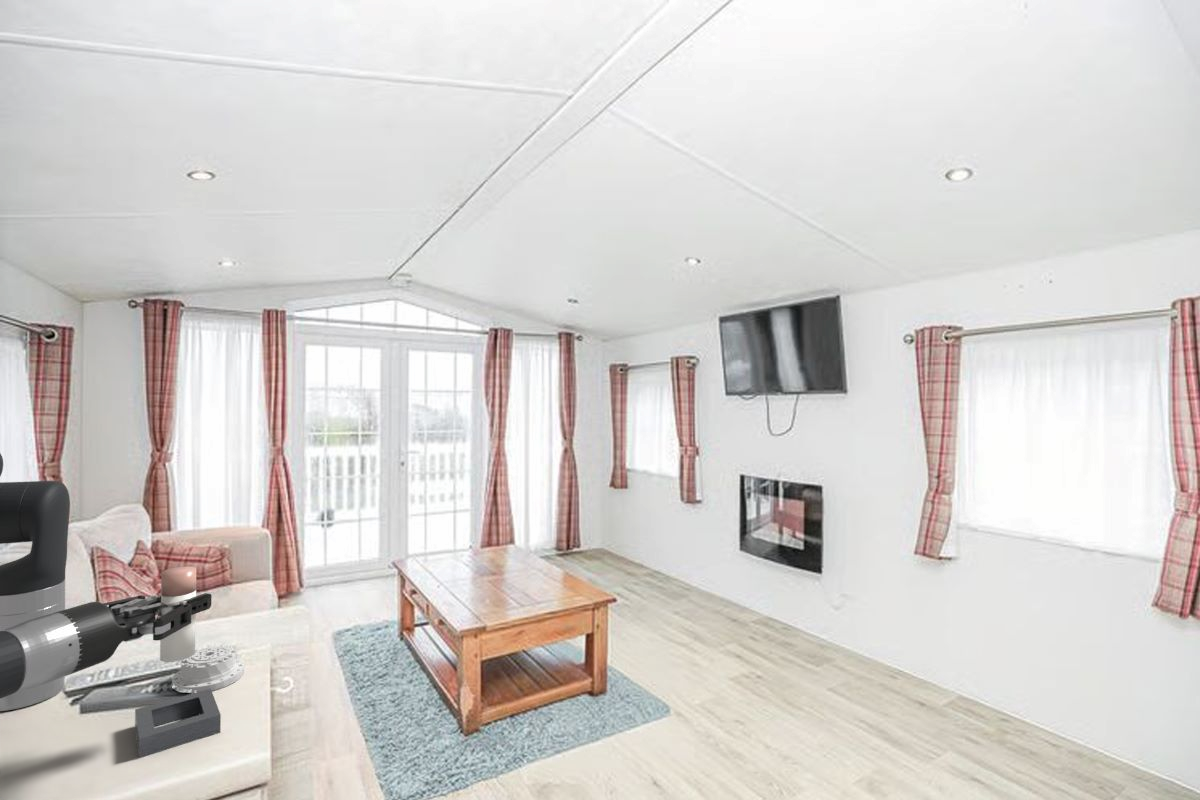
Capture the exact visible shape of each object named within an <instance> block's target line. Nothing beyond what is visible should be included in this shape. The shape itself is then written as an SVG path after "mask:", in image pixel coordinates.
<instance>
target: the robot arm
mask: <svg viewBox="0 0 1200 800" xmlns="http://www.w3.org/2000/svg"><path fill="white" fill-rule="evenodd" d="M3 471H4V458H3V456H2V454H1V453H0V477H1V476H2V474H3ZM70 511H71V500H70V493H69V489H68V488H67V486H66V485H65V484H64V483H63V482H61V481H58V480H57V481H56V480H36V481H35V480H34V481H31V480H30V481H10V482H9V481H7V482H4V481H3V482H0V545H2V544H3V545H4V544H18V543H20V544H21V543H31V548H30V552H29V553H28V554H26V555H24V556H23V557H20V558H19V559H15V560H13V561H12V560H11V561H10V562H6V563H3V564H0V712H5V711H11V710H13V711H14V710H17V709H22V708H26V707H30V706H32V705H36V704H39V703H41V702H43V701H45V700H48V699H50V698H52V697H54V696H55V695H57V694H59V693H60V692H61V691H62V690H63V689H64V688H65V684H66V682H65V681H66V680H65V678H66V677H67V676H69V675H72V674H75V673H78V672H81V671H83V670H85V669H89V668H90V667H93V666H96V665H99V664H102V663H104V662H106V661H108V660H109V659H111V657H112V656H113V655H114V654H115V652H116V650H117V649H118V648H119V646H120V644H122V642H126V643H127V642H132V641H136V640H140V639H141V638H142V637H144V636H147V635H152V640H153V641H160V640H162V639H164V638H166V637H167V636H169V635H171V634H173V633H175V632H176V631H178V630H180V629H182V628H183V627H185V626H187V625H189V624H191V615H193V614H198V613H201V612H205V611H207V610H209V609H211V607H212V600H213V599H212V594H211V593H208V592H207V593H205V592H204V593H202V594H199V595H196V596H195V597H192V598H190V599H186V600H183V601H179V602H176V603H172V604H168V605H166V604H164V603H162V602H161V595H160V596H159V595H150V596H148V597H146V595H143V594H142V595H141V594H140V595H137V596H131V597H127V598H123V599H118V600H113V601H108V602H105V603H104V602H103V603H102V602H100V601H91V602H87V603H83V604H80V605H76V606H72V607H70V608H66V566H67V560H68V537H69V526H70V525H69V523H70V515H71V514H70ZM172 609H174V610H172ZM169 610H172V611H170V612H168V611H169Z"/></svg>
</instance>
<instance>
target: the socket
mask: <svg viewBox="0 0 1200 800" xmlns="http://www.w3.org/2000/svg"><path fill="white" fill-rule="evenodd" d="M134 710H135V711H134V715H135V716H134V721H135V722H134V729H135V736H136V737H135V738H136V744H137V752H138V758H140V759H141V758H143V757H146V756H149V755H152V754H155V753H158V752H161V751H166V750H169V749H172V748H175V747H177V746H181V745H184V744H187V743H191V742H195V741H197V740H201V739H203V738H207V737H210V736H212V735H213V736H214V735H215V734H219V733H221V726H222V725H221V717H222V715H221V712H220V710H219V707H218V705H217V702H216V699H215V696H214V694H213V691H211V689H208V690H204V691H201V692H197V693H193V694H185V695H183V696H180V697H175V698H171V699H168V700H164V701H161V702H157V703H153V704H149V705H145V706H142V707H138V708H135V709H134Z"/></svg>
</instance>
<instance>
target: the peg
mask: <svg viewBox="0 0 1200 800" xmlns="http://www.w3.org/2000/svg"><path fill="white" fill-rule="evenodd" d="M160 577H161V578H160V580H161V581H160V584H161V585H160V586H161V587H160V596H161V602H162V603H164V604H166V605H168V604H172V603H176V602H179V601H183V600H186V599H190V598H192V597H195V596H197V567H195V566H177V567H172V568H171V567H170V568H168V569H165V570H163V571H162V572H161V573H160ZM172 610H174V609H172ZM172 610H169V611H168V612H170V611H172ZM196 614H197V613H196ZM196 614H193V615H191V624H189V625H187V626H185V627H183V628H182V629H180V630H178V631H176V632H175V633H173V634H171V635H169V636H167V637H166V638H164V639H162V640H159V643H160V649H159V660H160V661H161V662H162V663H163V662H164V663H173V662H179V661H180V662H181V660H183V659H186V658H189V657H191V656H192V655H194V654H195V650H196V625H197V623H196V620H197V618H196V616H197V615H196Z"/></svg>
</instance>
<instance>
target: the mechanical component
mask: <svg viewBox="0 0 1200 800" xmlns="http://www.w3.org/2000/svg"><path fill="white" fill-rule="evenodd" d="M236 650H237V649H235V648H233V646H231V645H230V646H229V645H224V644H221V645H219V646H218V645H217V646H216V645H215V646H210V645H209V646H207V647H205V648H200V649H195V654H194V655H192V656H191V657H189V658H186V659H183V660H180V662H181V664H180V667H181V668H180V670H179V671H177V672H176V673H175V674H174V675H173V676H172V678H171V685H172V684H174V685H175V686H177V687H179V688H184V689H189V690H190V689H192V690H197V691H199V692H201V691H204V690H208V689H211V691H212V692H213V691H216V690H220V689H223V688H225V687H227V686H229V685H232V684H233V683H236V682H237V681H239V679H241V677H243V675H244V673H245V664H244V661H242V660H240V659H238V658H237V655H236V654H237V653H236V652H237V651H236Z"/></svg>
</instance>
